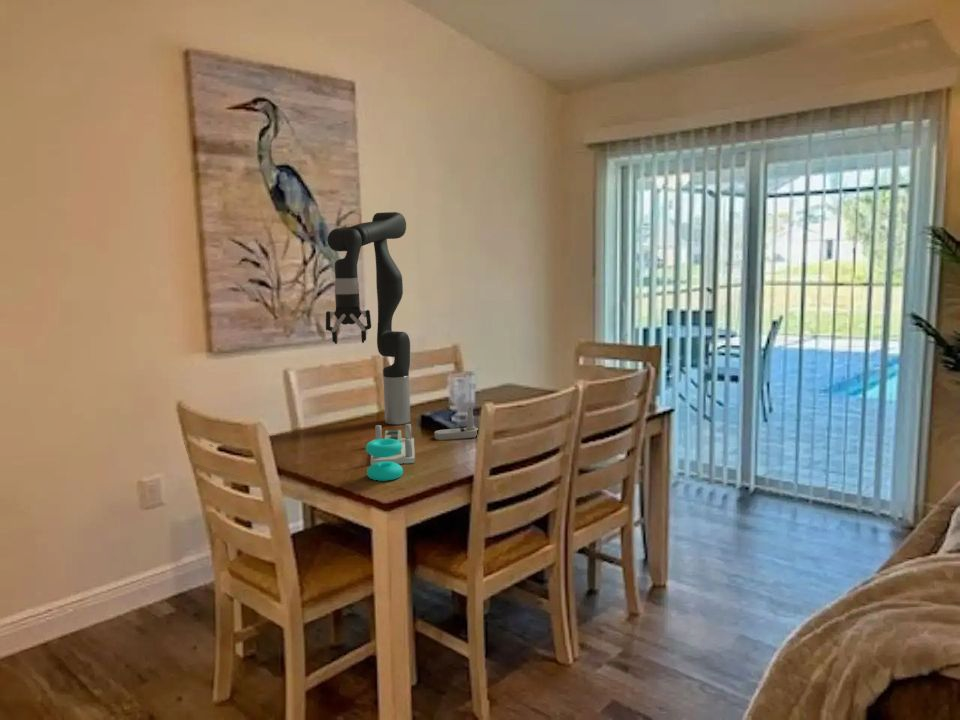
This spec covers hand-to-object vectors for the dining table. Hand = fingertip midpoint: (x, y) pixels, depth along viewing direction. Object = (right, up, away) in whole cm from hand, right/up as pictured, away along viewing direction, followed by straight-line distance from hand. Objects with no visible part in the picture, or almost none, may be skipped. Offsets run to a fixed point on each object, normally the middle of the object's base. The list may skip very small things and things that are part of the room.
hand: (349, 343), depth 240 cm
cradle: (+15, -34, -8) cm, 38 cm away
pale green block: (+15, -33, -8) cm, 37 cm away
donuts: (+15, -38, -31) cm, 52 cm away
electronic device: (+34, -32, +11) cm, 48 cm away
